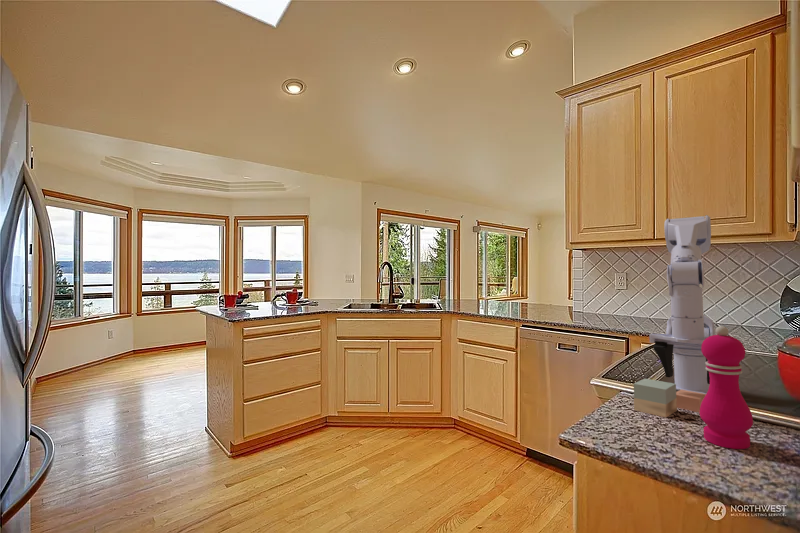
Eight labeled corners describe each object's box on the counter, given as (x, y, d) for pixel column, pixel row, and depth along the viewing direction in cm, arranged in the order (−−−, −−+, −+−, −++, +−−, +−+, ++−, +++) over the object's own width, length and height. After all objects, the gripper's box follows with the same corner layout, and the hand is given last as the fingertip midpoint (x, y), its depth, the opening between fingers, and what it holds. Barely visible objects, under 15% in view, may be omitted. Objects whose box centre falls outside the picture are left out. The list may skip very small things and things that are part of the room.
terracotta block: (681, 402, 91) (681, 389, 91) (708, 408, 87) (708, 394, 87) (672, 407, 88) (672, 393, 88) (700, 413, 84) (699, 399, 84)
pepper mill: (699, 430, 75) (695, 322, 75) (751, 438, 71) (746, 324, 71) (701, 444, 69) (696, 327, 69) (757, 454, 65) (751, 330, 65)
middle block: (645, 391, 90) (644, 378, 90) (676, 397, 85) (675, 383, 85) (634, 397, 86) (633, 383, 86) (666, 404, 82) (665, 389, 82)
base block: (646, 405, 90) (645, 391, 90) (677, 412, 85) (676, 398, 85) (634, 411, 86) (633, 397, 86) (666, 419, 82) (665, 404, 82)
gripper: (642, 316, 91) (645, 376, 90) (722, 321, 79) (725, 390, 79) (655, 313, 95) (657, 371, 95) (733, 318, 83) (736, 383, 83)
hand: (689, 379), depth 87 cm, fingers open, 7 cm apart
